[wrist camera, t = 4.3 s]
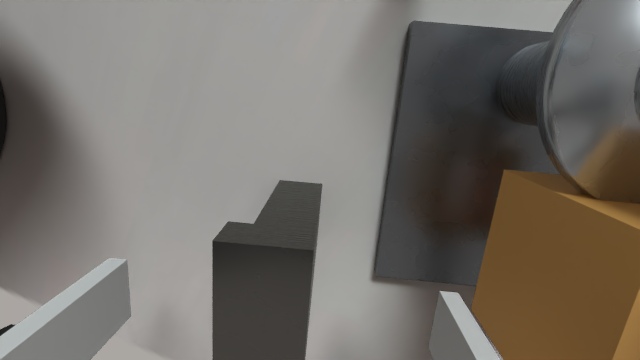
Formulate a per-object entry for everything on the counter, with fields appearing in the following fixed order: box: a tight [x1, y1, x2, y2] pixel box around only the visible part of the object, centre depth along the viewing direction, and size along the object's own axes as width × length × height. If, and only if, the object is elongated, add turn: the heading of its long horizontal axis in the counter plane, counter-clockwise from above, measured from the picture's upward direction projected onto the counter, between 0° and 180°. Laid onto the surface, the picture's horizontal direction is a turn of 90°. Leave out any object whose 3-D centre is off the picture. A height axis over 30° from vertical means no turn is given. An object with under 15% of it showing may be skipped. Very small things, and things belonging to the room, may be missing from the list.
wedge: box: [213, 180, 322, 360], centre depth 17 cm, size 3×8×14 cm, turn 175°
